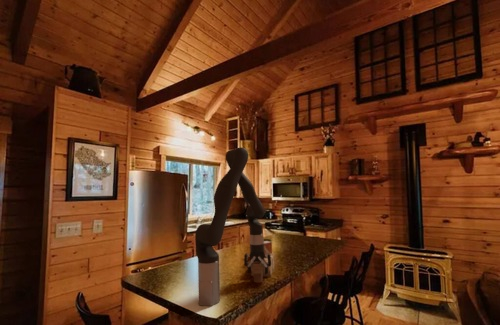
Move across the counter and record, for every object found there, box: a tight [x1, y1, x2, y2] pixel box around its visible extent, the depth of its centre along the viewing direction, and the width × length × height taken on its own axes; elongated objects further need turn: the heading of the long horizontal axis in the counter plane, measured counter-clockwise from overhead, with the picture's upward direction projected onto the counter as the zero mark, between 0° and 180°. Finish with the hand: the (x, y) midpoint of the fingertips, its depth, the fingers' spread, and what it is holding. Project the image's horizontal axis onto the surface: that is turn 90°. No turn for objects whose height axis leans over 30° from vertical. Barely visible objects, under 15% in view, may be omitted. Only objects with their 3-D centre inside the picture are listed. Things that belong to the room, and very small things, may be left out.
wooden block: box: [253, 261, 264, 283], centre depth 137 cm, size 4×4×10 cm
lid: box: [253, 253, 275, 264], centre depth 153 cm, size 18×11×4 cm, turn 167°
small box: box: [264, 241, 273, 254], centre depth 172 cm, size 8×6×13 cm
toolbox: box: [250, 256, 276, 278], centre depth 152 cm, size 18×11×7 cm, turn 167°
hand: (258, 273), depth 138 cm, fingers open, 8 cm apart
